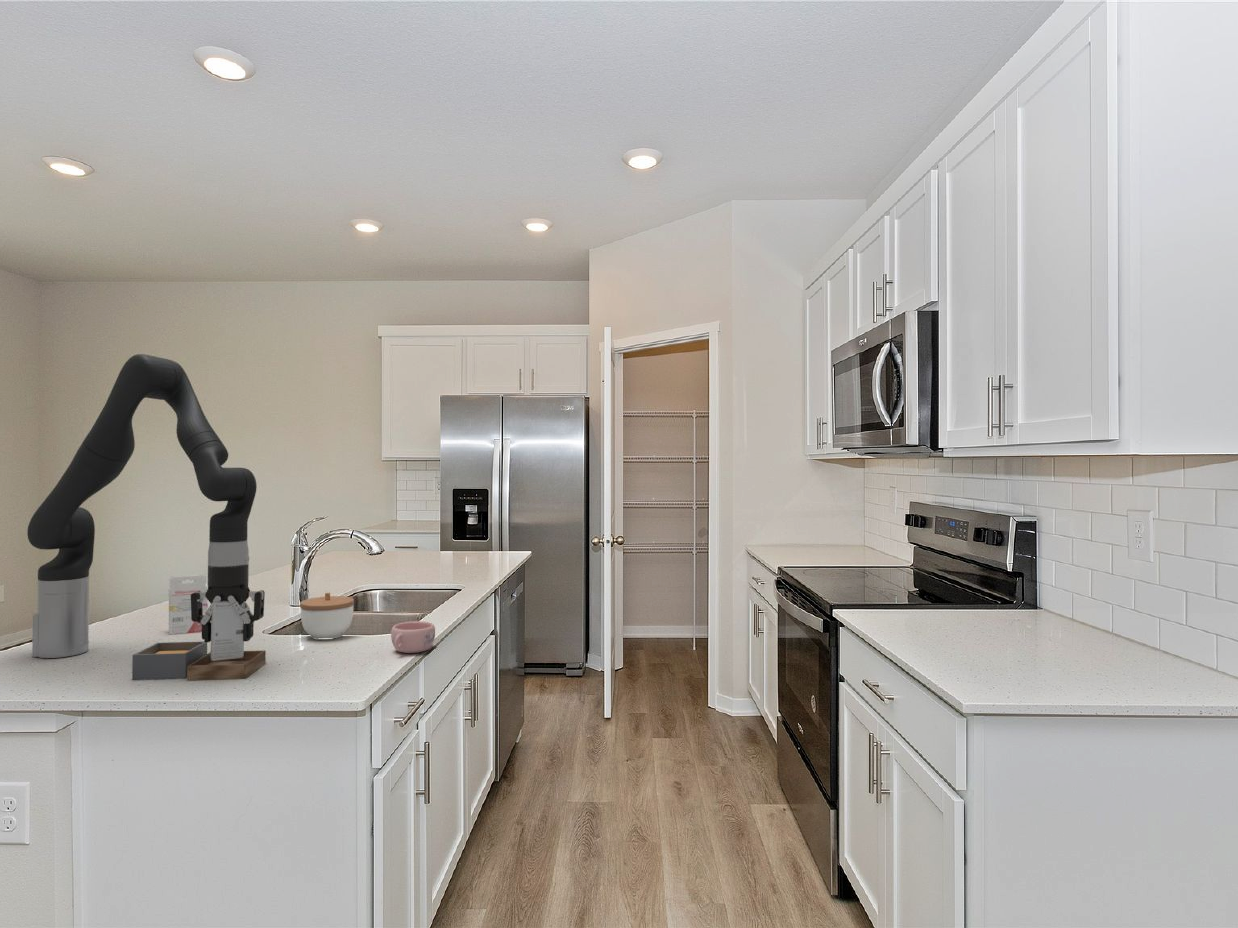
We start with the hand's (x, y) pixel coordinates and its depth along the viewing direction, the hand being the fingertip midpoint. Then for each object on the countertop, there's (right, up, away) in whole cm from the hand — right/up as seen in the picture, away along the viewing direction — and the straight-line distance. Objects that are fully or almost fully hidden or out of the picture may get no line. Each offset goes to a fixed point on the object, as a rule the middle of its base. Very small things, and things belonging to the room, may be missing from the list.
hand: (227, 640), depth 149 cm
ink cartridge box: (-30, -6, +35) cm, 46 cm away
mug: (+34, -7, +17) cm, 38 cm away
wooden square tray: (0, -6, 0) cm, 6 cm away
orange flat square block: (-11, -4, -1) cm, 12 cm away
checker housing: (-11, -6, -1) cm, 13 cm away
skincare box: (0, -4, 0) cm, 4 cm away
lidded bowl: (+8, -7, +30) cm, 32 cm away
